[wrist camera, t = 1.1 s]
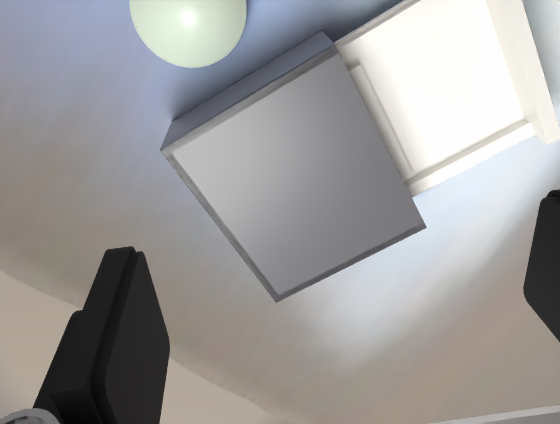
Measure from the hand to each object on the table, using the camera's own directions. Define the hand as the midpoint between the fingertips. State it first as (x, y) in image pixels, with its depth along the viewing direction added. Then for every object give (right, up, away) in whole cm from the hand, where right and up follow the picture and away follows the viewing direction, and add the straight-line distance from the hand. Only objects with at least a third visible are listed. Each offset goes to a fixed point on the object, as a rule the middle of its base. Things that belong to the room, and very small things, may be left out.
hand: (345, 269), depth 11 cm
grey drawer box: (-1, +5, +25) cm, 25 cm away
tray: (+9, +10, +21) cm, 25 cm away
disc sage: (-7, +15, +19) cm, 25 cm away
